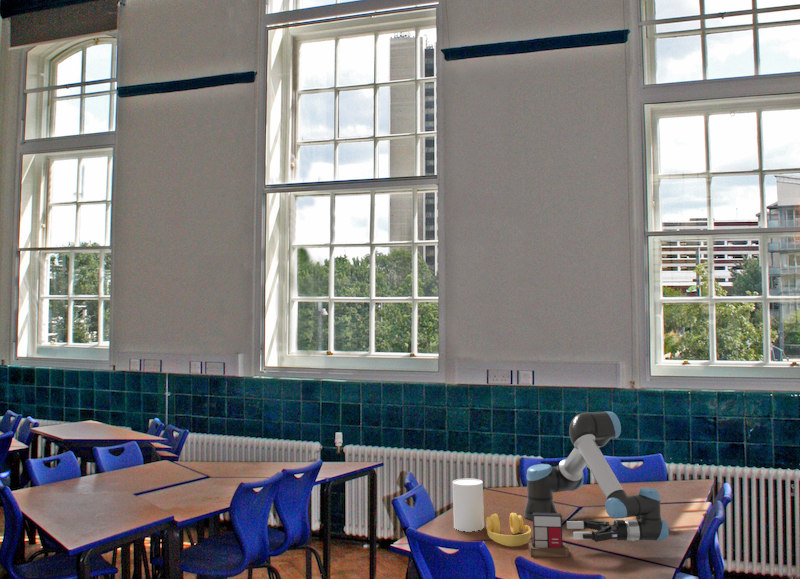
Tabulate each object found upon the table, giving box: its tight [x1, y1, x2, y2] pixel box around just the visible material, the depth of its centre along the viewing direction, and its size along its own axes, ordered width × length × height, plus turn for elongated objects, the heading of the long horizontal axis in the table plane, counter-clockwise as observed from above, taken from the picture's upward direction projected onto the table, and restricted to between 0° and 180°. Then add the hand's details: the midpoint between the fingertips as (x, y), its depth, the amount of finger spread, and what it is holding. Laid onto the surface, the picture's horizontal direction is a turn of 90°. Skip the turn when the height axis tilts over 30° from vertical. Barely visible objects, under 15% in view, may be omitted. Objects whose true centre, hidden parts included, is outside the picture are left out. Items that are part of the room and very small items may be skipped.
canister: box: [452, 477, 485, 533], centre depth 290 cm, size 14×14×20 cm
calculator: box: [532, 512, 564, 548], centre depth 254 cm, size 11×4×15 cm, turn 80°
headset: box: [485, 512, 532, 547], centre depth 273 cm, size 18×21×9 cm
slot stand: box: [527, 541, 570, 558], centre depth 253 cm, size 8×14×3 cm, turn 86°
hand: (570, 530), depth 253 cm, fingers open, 13 cm apart
